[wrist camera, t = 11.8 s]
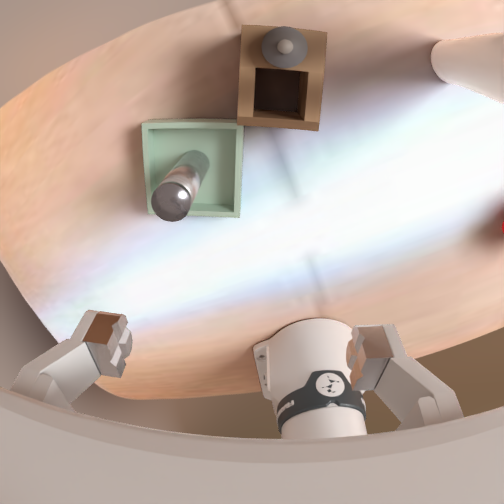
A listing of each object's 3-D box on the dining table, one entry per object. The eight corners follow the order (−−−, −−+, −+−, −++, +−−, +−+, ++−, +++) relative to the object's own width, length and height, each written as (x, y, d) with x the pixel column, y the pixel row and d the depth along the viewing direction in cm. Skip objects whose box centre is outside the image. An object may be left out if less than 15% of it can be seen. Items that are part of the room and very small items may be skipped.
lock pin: (209, 178, 34) (191, 222, 26) (180, 178, 34) (152, 221, 25) (209, 150, 33) (189, 184, 24) (179, 150, 33) (149, 184, 24)
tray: (240, 208, 37) (239, 217, 35) (154, 204, 37) (147, 214, 35) (244, 119, 31) (243, 123, 29) (149, 119, 31) (141, 123, 29)
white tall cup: (427, 90, 28) (515, 117, 16) (417, 33, 25) (505, 28, 12) (473, 89, 27) (562, 117, 15) (465, 35, 24) (556, 40, 11)
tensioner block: (308, 120, 31) (322, 135, 25) (240, 115, 31) (235, 129, 25) (315, 38, 27) (331, 30, 20) (244, 32, 26) (240, 21, 20)
